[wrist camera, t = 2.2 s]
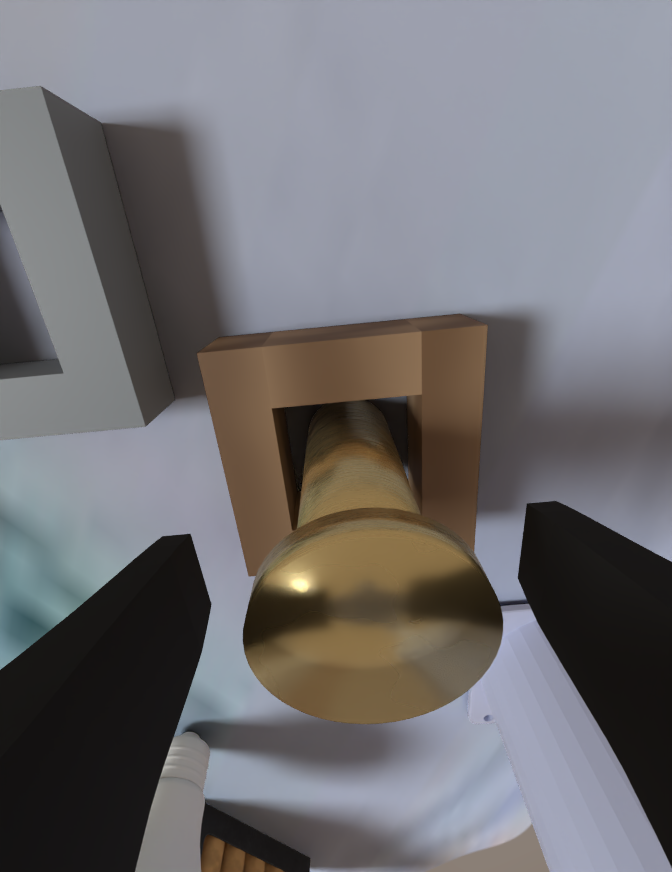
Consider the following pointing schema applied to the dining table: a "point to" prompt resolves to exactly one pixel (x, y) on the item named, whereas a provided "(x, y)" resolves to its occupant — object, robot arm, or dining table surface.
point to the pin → (367, 588)
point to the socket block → (74, 277)
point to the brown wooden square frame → (339, 382)
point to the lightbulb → (177, 810)
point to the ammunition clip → (243, 847)
